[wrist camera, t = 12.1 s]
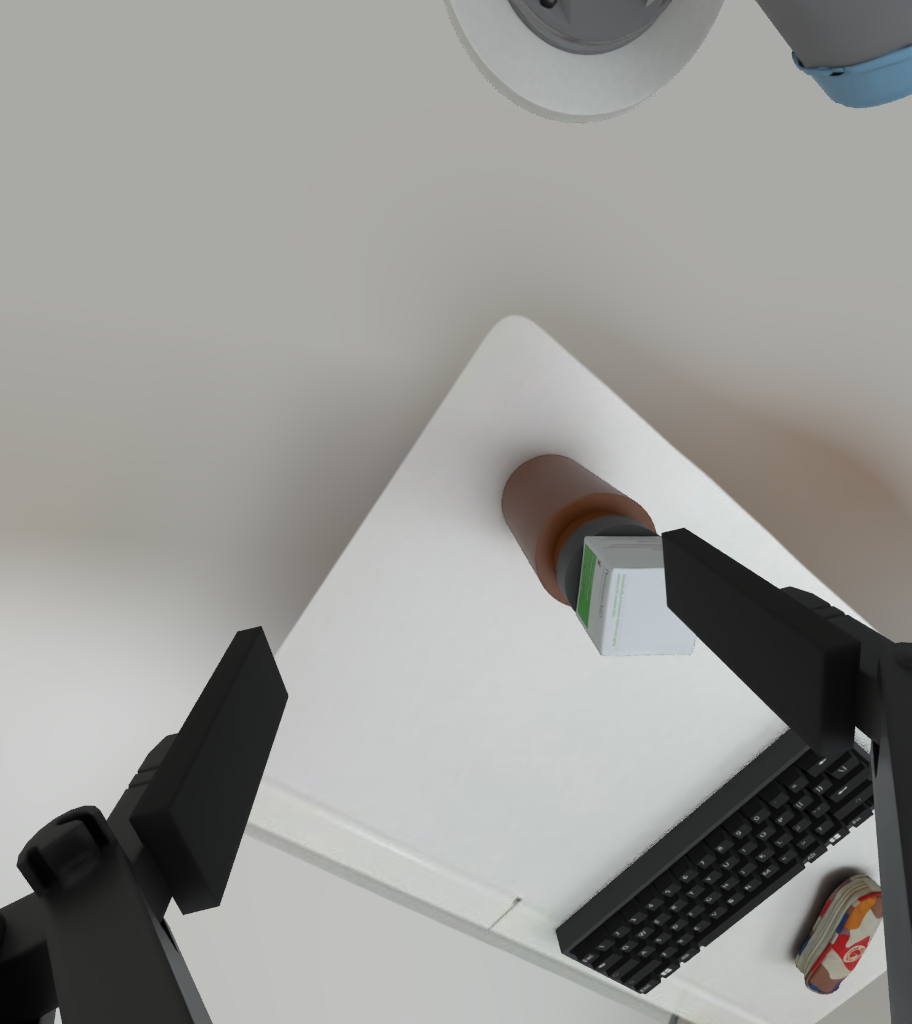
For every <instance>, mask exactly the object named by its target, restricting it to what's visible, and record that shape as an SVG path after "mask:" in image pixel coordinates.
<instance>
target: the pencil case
mask: <svg viewBox="0 0 912 1024" xmlns="http://www.w3.org/2000/svg"><path fill="white" fill-rule="evenodd" d="M882 918H883V909H882V896H881V887H880V886H879V885H878V884H877V883H876V882H875V881H874V880H872V879H871V878H870V877H869V876H866V875H864V874H859V875H855V874H854V875H853V876H851V877H849V878H848V880H846V881H845V882H843V883H842V884H841V885H840V886H838V888H837V889H835V890H834V892H833V893H832V894H831V895H830V896H829V898H828V899H827V901H826V903H825V905H824V907H823V909H822V911H821V913H820V915H819V917H818V919H817V921H816V923H815V925H814V927H813V929H812V931H811V933H810V935H809V936H808V938H807V940H806V941H805V943H804V945H803V946H802V948H801V949H800V951H799V953H798V955H797V957H796V960H795V964H796V967H797V968H798V969H799V970H800V972H802V973H804V979H805V984H806V986H807V988H808V989H809V990H811V991H813V992H816V993H818V994H831V993H833V992H834V991H836V990H837V989H838V988H839V985H840V983H841V982H842V981H843V980H844V979H845V978H846V977H847V976H848V975H849V974H850V973H851V972H852V970H853V969H854V968H855V966H856V965H857V963H858V961H859V960H860V958H861V956H862V955H863V954H864V952H865V950H866V948H867V946H868V944H869V943H870V941H871V939H872V937H873V936H874V934H875V932H876V930H877V928H878V926H879V924H880V922H881V920H882Z"/></svg>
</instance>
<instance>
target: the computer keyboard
mask: <svg viewBox="0 0 912 1024" xmlns="http://www.w3.org/2000/svg"><path fill="white" fill-rule="evenodd" d="M869 762H870V755H869V754H868V753H867V752H866V751H865V750H863V749H862V748H861V747H860V746H859V745H858V744H857V743H856V742H854V748H853V749H851V750H847V751H843V752H838V753H834V754H830V755H826V756H822V757H819V756H818V755H817V754H816V753H815V752H814V751H813V750H812V749H811V748H810V747H809V746H808V745H807V744H806V743H805V742H804V741H803V740H802V739H801V738H800V737H799V736H798V735H797V734H796V733H795V732H794V731H793V730H792V729H789V730H788V731H787V732H786V733H785V734H784V735H783V736H781V737H780V738H779V739H778V740H777V741H776V742H774V743H773V744H772V745H771V746H770V747H769V748H767V749H766V750H765V751H764V752H763V753H762V754H760V755H759V756H758V757H757V758H756V759H755V760H753V761H752V762H751V763H750V764H749V765H748V766H746V767H745V768H744V769H743V770H742V771H741V772H739V773H738V774H737V775H736V776H735V777H734V778H732V779H731V780H730V781H729V782H728V783H727V784H725V785H724V786H723V787H722V788H721V789H720V790H718V791H717V792H716V793H715V794H714V795H713V796H712V797H710V798H709V799H708V800H707V801H706V802H705V803H703V804H702V805H701V806H700V807H699V808H698V809H696V810H695V811H694V812H693V813H692V814H691V815H689V816H688V817H687V818H686V819H685V820H684V821H682V822H681V823H680V824H679V825H678V826H677V827H675V828H674V829H673V830H672V831H671V832H670V833H668V834H667V835H666V836H665V837H664V838H663V839H661V840H660V841H659V842H658V843H657V844H656V845H654V846H653V847H652V848H651V849H650V850H649V851H647V852H646V853H645V854H644V855H643V856H642V857H641V858H639V859H638V860H637V861H636V862H635V863H634V864H632V865H631V866H630V867H629V868H628V869H627V870H625V871H624V872H623V873H622V874H621V875H620V876H618V877H617V878H616V879H615V880H614V881H613V882H611V883H610V884H609V885H608V886H607V887H606V888H604V889H603V890H602V891H601V892H600V893H599V894H597V895H596V896H595V897H594V898H593V899H592V900H590V901H589V902H588V903H587V904H586V905H585V906H583V907H582V908H581V909H580V910H579V911H578V912H576V913H575V914H574V915H573V916H572V917H571V918H570V919H568V920H567V921H566V922H565V923H564V924H563V925H561V926H560V927H559V928H558V929H557V930H556V934H557V938H558V942H559V946H560V949H561V953H562V954H564V955H566V956H568V957H570V958H572V959H574V960H576V961H578V962H579V963H581V964H583V965H585V966H587V967H589V968H591V969H593V970H595V971H597V972H599V973H601V974H603V975H605V976H607V977H609V978H611V979H612V980H614V981H616V982H618V983H620V984H622V985H624V986H626V987H628V988H630V989H632V990H634V991H636V992H638V993H640V994H642V993H643V994H647V993H648V992H649V991H650V990H652V989H653V988H654V987H656V986H657V985H658V984H659V983H661V979H660V978H662V977H664V978H667V977H668V976H669V975H671V974H672V973H673V972H675V971H676V970H677V969H678V968H680V963H681V962H684V963H686V962H687V961H688V960H690V959H691V958H692V957H693V956H695V955H696V954H697V953H699V952H700V947H701V946H704V947H706V946H707V945H709V944H710V943H711V942H712V941H714V940H715V939H716V938H717V937H719V936H720V935H721V934H723V933H724V932H725V931H726V930H728V929H729V928H730V927H731V926H733V925H734V924H735V923H736V922H738V921H739V920H740V919H742V918H743V917H744V916H745V915H747V914H748V913H749V912H750V911H752V910H753V909H754V908H755V907H757V906H758V905H759V904H760V903H762V902H763V901H764V900H766V899H767V898H768V897H769V896H771V895H772V894H773V893H774V892H776V891H777V890H778V889H779V888H781V887H782V886H783V885H784V884H786V883H787V882H788V881H790V880H791V879H792V878H793V877H795V876H796V875H797V874H798V873H800V872H801V871H802V870H803V869H805V865H804V864H805V863H807V862H810V863H812V862H814V861H815V860H816V859H817V858H819V857H820V856H821V855H822V854H824V853H825V852H826V851H827V848H826V847H827V846H828V845H829V844H832V845H833V846H834V845H835V844H836V843H838V842H839V841H840V840H841V839H843V838H844V837H845V836H846V835H848V834H849V833H850V831H849V830H848V829H850V828H851V827H852V826H854V827H856V828H857V827H858V826H859V825H860V824H862V823H863V822H864V821H865V820H867V819H868V818H869V817H870V816H872V815H873V813H872V810H874V809H875V806H874V793H873V781H871V780H868V773H869Z"/></svg>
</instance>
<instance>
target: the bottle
mask: <svg viewBox="0 0 912 1024" xmlns="http://www.w3.org/2000/svg"><path fill="white" fill-rule="evenodd" d="M502 512H503V516H504V519H505V521H506V523H507V525H508V527H509V529H510V530H511V532H512V534H513V535H514V537H515V539H516V541H517V542H518V544H519V546H520V547H521V549H522V551H523V553H524V554H525V556H526V558H527V559H528V561H529V563H530V565H531V566H532V568H533V570H534V571H535V573H536V575H537V577H538V578H539V580H540V582H541V583H542V585H543V587H544V588H545V589H546V591H547V592H548V593H549V594H550V595H551V596H552V597H553V598H555V599H556V600H558V601H559V602H561V603H563V604H565V605H568V606H571V607H572V609H573V610H574V611H575V612H576V609H577V601H578V593H579V586H580V577H581V568H582V559H583V550H584V538H585V537H586V536H659V535H658V534H656V530H655V526H654V524H653V522H652V520H651V518H650V516H649V515H648V513H647V512H646V511H645V510H644V509H643V508H642V506H640V505H639V504H638V503H636V502H635V501H634V500H632V499H631V498H629V497H628V496H626V495H625V494H623V493H622V492H620V491H619V490H617V489H616V488H614V487H613V486H611V485H610V484H608V483H607V482H605V481H604V480H602V479H601V478H599V477H598V476H596V475H595V474H593V473H592V472H590V471H589V470H587V469H586V468H584V467H583V466H581V465H580V464H578V463H577V462H575V461H573V460H572V459H569V458H567V457H564V456H560V455H544V456H539V457H536V458H533V459H531V460H529V461H527V462H526V463H524V464H523V465H521V466H520V467H519V468H518V469H517V470H516V471H515V472H514V473H513V474H512V475H511V477H510V478H509V480H508V481H507V483H506V486H505V488H504V491H503V495H502Z"/></svg>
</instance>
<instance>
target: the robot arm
mask: <svg viewBox="0 0 912 1024" xmlns="http://www.w3.org/2000/svg"><path fill="white" fill-rule="evenodd" d="M508 1H509V3H510V5H511V6H512V8H513V9H514V11H515V13H516V14H517V15H518V17H519V18H520V19H521V20H522V22H523V23H524V24H525V25H526V26H527V27H528V28H529V29H530V30H531V31H532V32H533V33H534V34H535V35H536V36H538V37H539V38H540V39H542V40H543V41H545V42H546V43H548V44H549V45H551V46H553V47H555V48H557V49H560V50H562V51H565V52H569V53H573V54H579V55H597V54H604V53H608V52H611V51H614V50H617V49H619V48H622V47H624V46H626V45H627V44H629V43H631V42H632V41H634V40H635V39H637V38H638V37H640V36H641V35H642V34H643V33H644V32H646V31H647V30H648V29H649V28H650V27H651V26H652V25H653V24H654V23H655V21H656V20H657V19H658V18H659V17H660V15H661V14H662V13H663V12H664V10H665V9H666V8H667V6H668V5H669V4H670V2H671V1H672V0H508ZM756 2H757V3H758V4H759V5H760V7H761V8H762V10H763V11H764V12H765V14H766V15H767V16H768V18H769V19H770V21H771V22H772V23H773V25H774V26H775V27H776V29H777V30H778V31H779V33H780V34H781V35H782V36H783V38H784V39H785V41H786V42H787V43H788V45H789V46H790V47H791V49H792V50H793V51H792V58H793V61H794V63H795V64H796V66H797V67H798V68H799V69H800V70H803V71H804V72H805V73H806V74H808V75H811V76H812V77H813V78H814V80H815V81H816V82H817V83H818V84H819V86H820V87H821V88H822V89H823V90H824V92H825V93H826V94H827V95H828V96H829V97H830V98H831V99H832V100H833V101H835V102H836V103H840V104H842V105H845V106H847V107H853V108H867V107H873V106H878V105H882V104H886V103H889V102H892V101H895V100H898V99H901V98H904V97H906V96H908V95H911V94H912V0H756ZM662 546H663V560H664V573H665V586H666V600H667V607H668V608H669V609H670V610H671V611H672V612H673V613H674V614H675V615H676V616H677V617H678V618H679V619H680V620H681V621H682V622H683V623H684V624H685V625H686V626H687V627H688V628H689V629H690V630H691V631H692V632H693V633H694V634H695V635H696V636H697V637H698V638H699V639H700V640H701V641H702V642H703V643H704V644H705V645H706V646H707V647H709V648H710V649H711V650H712V651H713V652H714V653H715V654H716V655H717V656H718V657H719V658H720V659H721V660H722V661H723V662H724V663H725V664H726V665H727V666H728V667H729V668H730V669H731V670H732V671H733V672H734V673H735V674H736V675H737V676H738V677H739V678H740V679H741V680H742V681H743V682H744V683H745V684H746V685H747V686H748V687H749V688H750V689H751V690H752V691H753V692H754V693H755V694H756V695H757V696H758V697H759V698H760V699H761V700H762V701H763V702H764V703H765V704H766V705H767V706H768V707H769V708H770V709H771V710H772V711H773V712H774V713H775V714H776V715H777V716H778V717H780V718H781V719H782V720H783V721H784V722H785V723H786V724H787V725H788V726H789V727H790V728H791V729H792V730H793V731H794V732H795V733H796V734H797V735H798V736H799V737H800V738H801V739H802V740H803V741H804V742H805V743H806V744H807V745H808V746H809V747H810V748H811V749H812V750H813V751H814V752H815V753H816V754H817V755H818V756H819V757H822V756H826V755H830V754H834V753H838V752H843V751H847V750H851V749H853V748H854V735H855V726H856V727H857V728H858V729H859V730H861V731H862V732H863V733H864V734H865V735H867V736H868V737H869V738H870V739H871V750H870V762H869V773H868V780H871V781H873V793H874V806H875V819H876V832H877V845H878V858H879V870H880V883H881V896H882V909H883V922H884V935H885V947H886V960H887V973H888V986H889V999H890V1011H891V1024H912V643H905V642H904V643H903V642H901V643H894V642H892V641H891V640H889V639H887V638H886V637H884V636H882V635H881V634H879V633H877V632H876V631H874V630H872V629H871V628H869V627H867V626H866V625H864V624H862V623H861V622H859V621H857V620H856V619H854V618H852V617H851V616H849V615H845V614H844V612H842V611H841V610H839V609H837V608H836V607H834V606H832V607H831V606H830V604H829V603H828V602H826V601H824V600H823V599H821V598H819V597H818V596H816V595H814V594H812V593H809V592H806V591H803V590H800V589H797V588H794V587H791V586H790V587H786V588H782V589H779V588H777V587H775V586H774V585H772V584H771V583H769V582H768V581H766V580H765V579H763V578H761V577H760V576H758V575H757V574H755V573H754V572H752V571H751V570H749V569H748V568H746V567H744V566H743V565H741V564H740V563H738V562H737V561H735V560H734V559H732V558H730V557H729V556H727V555H726V554H724V553H723V552H721V551H720V550H718V549H716V548H715V547H713V546H712V545H710V544H709V543H707V542H706V541H704V540H703V539H701V538H699V537H698V536H696V535H695V534H693V533H692V532H690V531H689V530H687V529H685V528H681V529H677V530H673V531H668V532H664V533H662ZM287 699H288V693H287V691H286V688H285V686H284V683H283V681H282V678H281V675H280V673H279V670H278V668H277V665H276V662H275V660H274V657H273V655H272V652H271V649H270V647H269V644H268V642H267V639H266V636H265V634H264V631H263V629H262V626H259V627H255V628H251V629H247V630H243V631H238V632H237V633H236V635H235V637H234V639H233V640H232V642H231V644H230V645H229V647H228V649H227V651H226V652H225V654H224V656H223V657H222V659H221V661H220V663H219V665H218V666H217V668H216V669H215V671H214V673H213V675H212V676H211V678H210V680H209V681H208V683H207V685H206V687H205V688H204V690H203V692H202V694H201V695H200V697H199V699H198V700H197V702H196V704H195V705H194V707H193V709H192V711H191V712H190V714H189V716H188V717H187V719H186V721H185V723H184V724H183V726H182V728H181V730H180V731H179V733H177V734H173V735H168V736H166V737H165V738H164V739H163V740H162V741H161V742H160V743H159V744H158V745H157V746H156V747H155V748H154V749H153V750H152V751H151V752H150V753H149V754H148V755H147V757H146V758H145V760H144V762H143V764H142V765H141V767H140V768H139V770H138V774H136V775H135V776H134V778H133V779H132V781H131V782H130V784H129V788H128V789H126V790H125V792H124V794H123V795H122V797H121V798H120V800H119V801H118V803H117V805H116V807H115V808H114V810H113V811H112V813H111V814H110V816H109V817H108V819H107V821H106V819H105V818H104V816H103V814H102V813H101V811H100V810H99V809H98V808H96V806H82V807H79V808H76V809H73V810H70V811H68V812H66V813H65V814H62V815H61V816H59V817H57V818H55V819H54V820H52V821H51V822H50V823H48V824H47V825H46V826H45V827H43V828H42V829H40V830H39V831H38V832H37V833H36V834H35V835H34V836H33V837H32V839H30V840H29V841H28V843H27V844H26V845H25V847H24V848H23V850H22V851H21V853H20V854H19V856H18V862H17V867H18V869H19V870H20V871H21V873H22V875H23V876H24V877H25V879H26V880H27V882H28V883H29V885H30V886H31V887H32V889H33V890H34V892H33V893H32V894H30V895H27V896H25V897H23V898H21V899H19V900H17V901H15V902H13V903H11V904H9V905H7V906H5V907H3V908H1V909H0V1024H54V1019H55V1012H56V1008H57V1007H59V1009H60V1015H61V1019H62V1024H213V1023H212V1021H211V1019H210V1017H209V1014H208V1012H207V1010H206V1008H205V1006H204V1004H203V1001H202V999H201V997H200V994H199V992H198V990H197V988H196V986H195V983H194V981H193V979H192V977H191V974H190V972H189V970H188V968H187V965H186V963H185V961H184V959H183V957H182V954H181V952H180V950H179V948H178V945H177V943H176V941H175V939H174V937H173V934H172V932H171V930H170V927H169V926H168V924H167V922H166V921H165V919H164V914H165V912H166V910H167V907H168V905H169V903H170V900H171V898H172V897H173V898H174V900H175V902H176V904H177V905H178V907H179V909H180V910H181V912H182V914H183V915H185V914H189V913H193V912H197V911H201V910H205V909H209V908H213V907H217V906H220V903H221V900H222V897H223V894H224V891H225V888H226V885H227V882H228V878H229V875H230V872H231V869H232V866H233V863H234V860H235V857H236V854H237V851H238V848H239V845H240V842H241V839H242V836H243V833H244V830H245V827H246V824H247V821H248V818H249V815H250V812H251V809H252V806H253V803H254V800H255V797H256V794H257V790H258V787H259V784H260V781H261V778H262V775H263V772H264V769H265V766H266V763H267V760H268V757H269V754H270V751H271V748H272V745H273V742H274V739H275V736H276V733H277V730H278V727H279V724H280V721H281V718H282V715H283V712H284V709H285V705H286V702H287Z"/></svg>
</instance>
